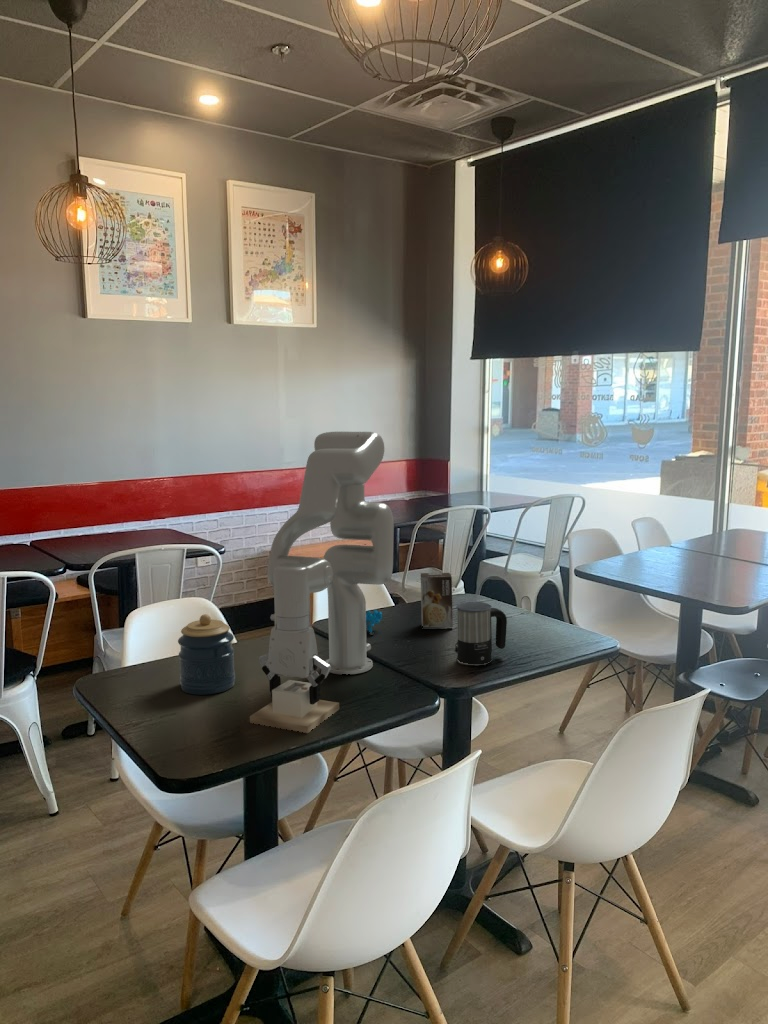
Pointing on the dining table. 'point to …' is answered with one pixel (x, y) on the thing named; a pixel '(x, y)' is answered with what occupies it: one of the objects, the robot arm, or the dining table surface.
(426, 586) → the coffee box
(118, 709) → the dining table surface
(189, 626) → the canister
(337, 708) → the base
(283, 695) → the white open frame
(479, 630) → the milk frother
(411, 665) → the dining table surface
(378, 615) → the blue green toy
